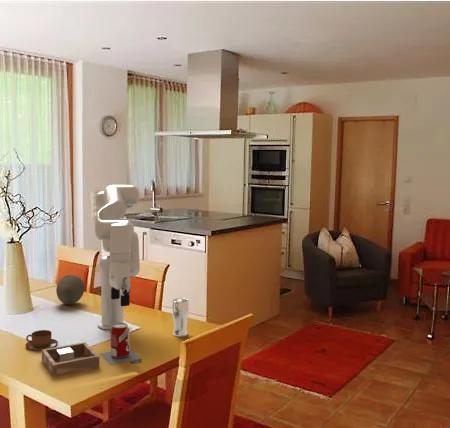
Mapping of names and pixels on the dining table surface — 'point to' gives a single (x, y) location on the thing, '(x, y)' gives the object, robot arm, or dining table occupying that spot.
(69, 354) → the metal block
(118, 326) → the soda can
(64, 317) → the dining table surface
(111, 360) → the slate mat
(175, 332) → the beer glass
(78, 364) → the walnut crate
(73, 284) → the cantaloupe
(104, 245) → the robot arm
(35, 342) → the cup and saucer
